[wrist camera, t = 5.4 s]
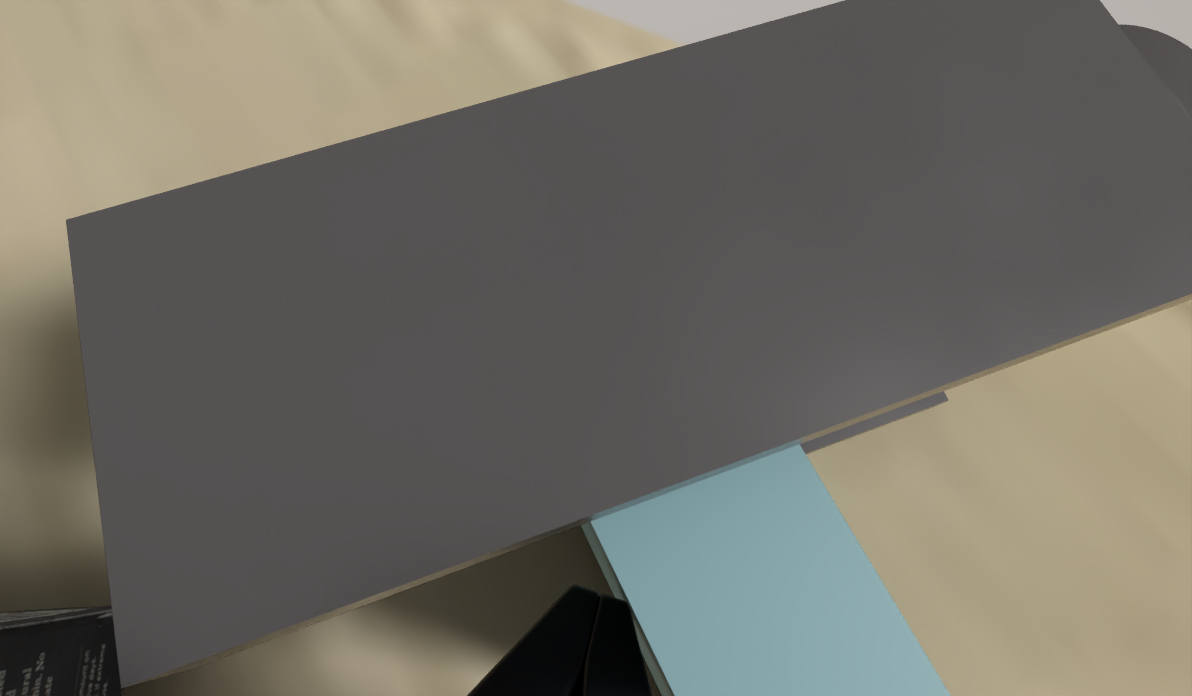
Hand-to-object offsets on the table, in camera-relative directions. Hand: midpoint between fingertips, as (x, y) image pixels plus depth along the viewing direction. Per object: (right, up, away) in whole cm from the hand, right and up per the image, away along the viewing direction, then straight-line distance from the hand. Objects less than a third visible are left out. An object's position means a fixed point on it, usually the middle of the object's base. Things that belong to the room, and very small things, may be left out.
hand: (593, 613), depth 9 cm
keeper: (+2, +2, +8) cm, 8 cm away
